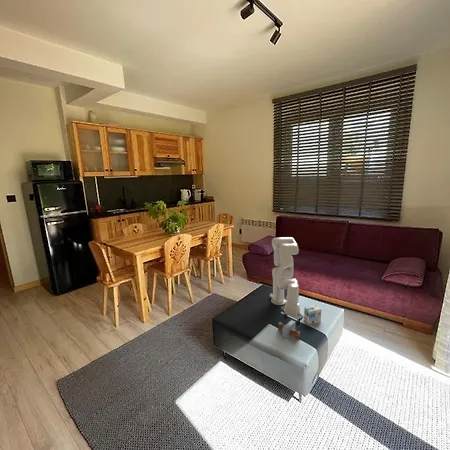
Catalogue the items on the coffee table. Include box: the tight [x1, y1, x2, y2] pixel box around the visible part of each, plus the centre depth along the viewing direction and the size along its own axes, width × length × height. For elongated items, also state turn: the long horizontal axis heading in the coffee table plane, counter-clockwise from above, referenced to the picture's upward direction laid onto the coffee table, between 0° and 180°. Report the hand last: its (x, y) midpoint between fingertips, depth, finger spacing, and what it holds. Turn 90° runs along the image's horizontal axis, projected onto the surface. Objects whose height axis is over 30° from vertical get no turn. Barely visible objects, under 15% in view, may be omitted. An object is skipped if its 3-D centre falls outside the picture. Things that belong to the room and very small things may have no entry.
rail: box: [277, 321, 301, 341], centre depth 167 cm, size 16×2×5 cm, turn 44°
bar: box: [281, 319, 296, 339], centre depth 167 cm, size 3×12×7 cm, turn 134°
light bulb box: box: [303, 304, 322, 325], centre depth 179 cm, size 11×7×11 cm, turn 106°
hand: (291, 321), depth 169 cm, fingers open, 9 cm apart
